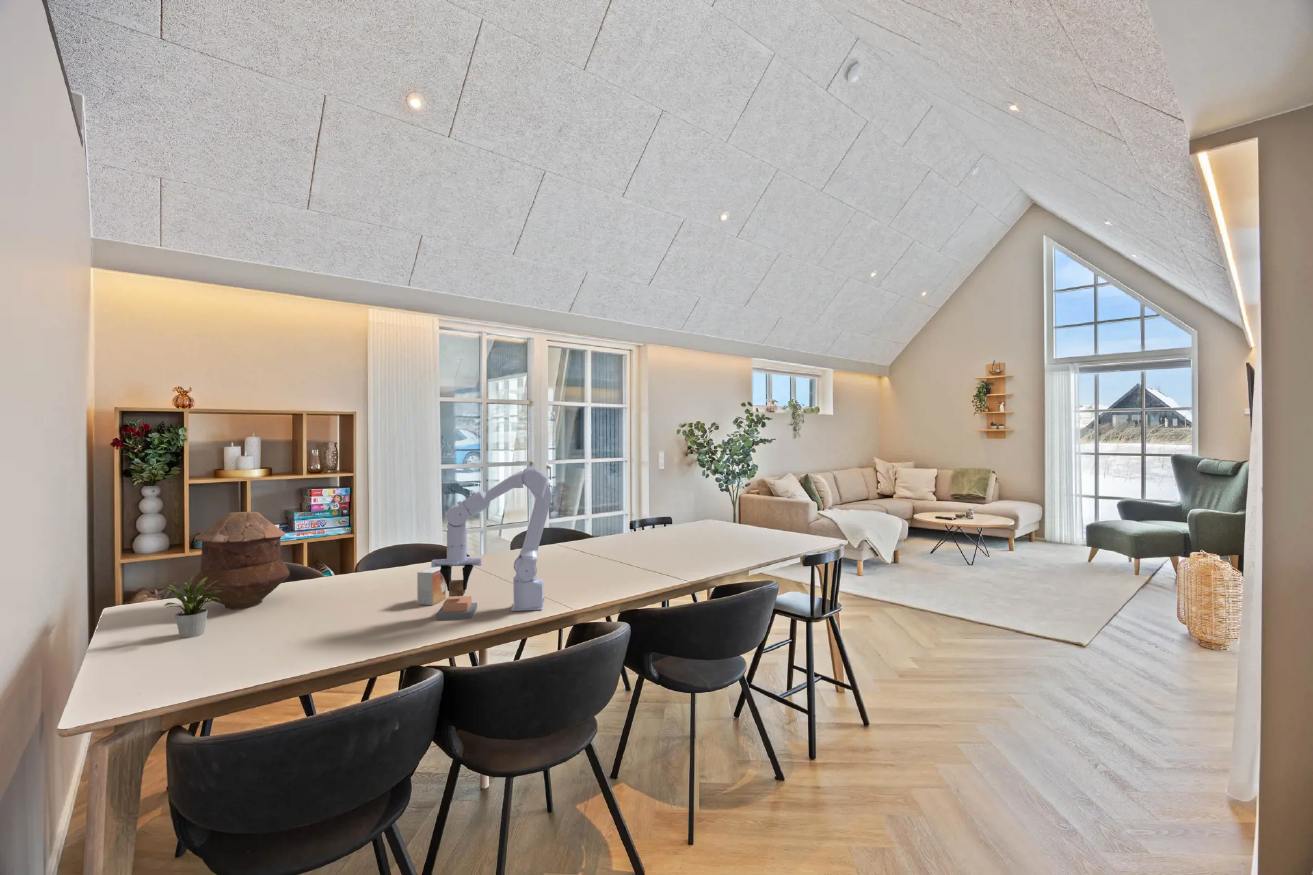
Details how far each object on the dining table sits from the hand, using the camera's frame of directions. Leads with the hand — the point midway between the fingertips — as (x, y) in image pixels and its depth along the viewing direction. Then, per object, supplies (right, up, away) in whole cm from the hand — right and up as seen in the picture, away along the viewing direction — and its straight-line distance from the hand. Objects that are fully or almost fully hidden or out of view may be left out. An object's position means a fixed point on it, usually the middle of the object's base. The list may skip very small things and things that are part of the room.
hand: (457, 589), depth 178 cm
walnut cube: (0, -1, 0) cm, 1 cm away
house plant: (-67, -8, -19) cm, 70 cm away
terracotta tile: (0, -6, 0) cm, 6 cm away
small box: (-13, -8, +13) cm, 20 cm away
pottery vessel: (-73, -8, +10) cm, 74 cm away
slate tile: (0, -8, 0) cm, 8 cm away
